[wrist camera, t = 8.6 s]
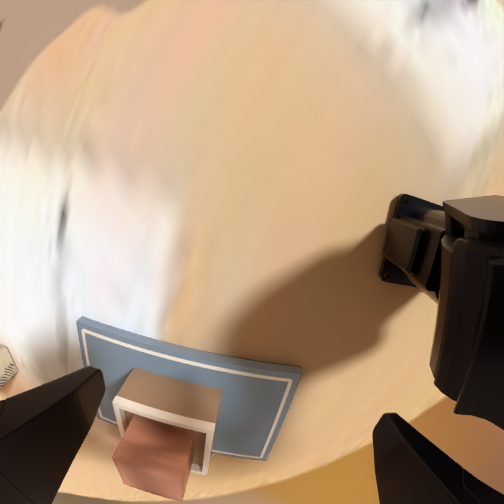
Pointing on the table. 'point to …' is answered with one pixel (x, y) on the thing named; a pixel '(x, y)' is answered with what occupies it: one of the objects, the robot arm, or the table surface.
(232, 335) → the table surface
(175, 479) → the terracotta block
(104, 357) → the blueprint board
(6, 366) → the box
